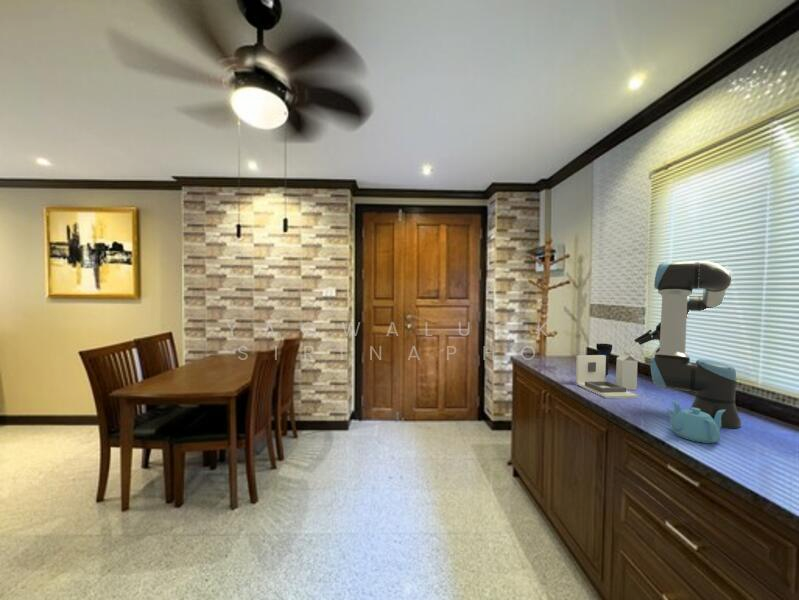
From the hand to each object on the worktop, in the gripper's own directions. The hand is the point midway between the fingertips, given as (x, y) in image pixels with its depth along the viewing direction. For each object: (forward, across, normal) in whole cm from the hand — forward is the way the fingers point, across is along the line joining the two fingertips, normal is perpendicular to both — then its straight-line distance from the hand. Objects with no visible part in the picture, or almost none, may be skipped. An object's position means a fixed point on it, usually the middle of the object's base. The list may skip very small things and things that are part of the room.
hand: (640, 354), depth 184 cm
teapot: (+34, -59, +9) cm, 68 cm away
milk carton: (+18, -1, -6) cm, 20 cm away
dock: (+29, -5, +4) cm, 29 cm away
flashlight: (+17, +19, -8) cm, 27 cm away
